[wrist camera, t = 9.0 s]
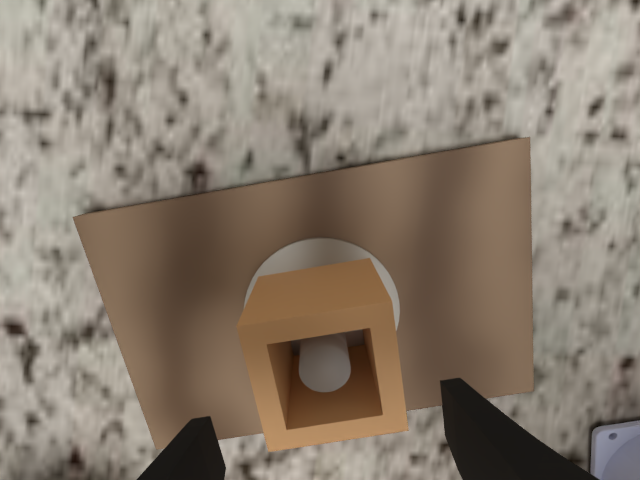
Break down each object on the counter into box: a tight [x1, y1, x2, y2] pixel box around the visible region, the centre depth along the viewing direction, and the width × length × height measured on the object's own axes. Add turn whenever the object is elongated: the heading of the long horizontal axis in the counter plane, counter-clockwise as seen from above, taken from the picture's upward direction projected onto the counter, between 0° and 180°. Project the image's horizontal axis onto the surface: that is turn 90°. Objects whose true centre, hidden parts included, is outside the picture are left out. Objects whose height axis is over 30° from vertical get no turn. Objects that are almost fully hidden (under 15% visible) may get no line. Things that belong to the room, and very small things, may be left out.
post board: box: [73, 137, 534, 449], centre depth 16 cm, size 22×14×6 cm, turn 100°
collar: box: [236, 258, 409, 452], centre depth 15 cm, size 6×6×5 cm
